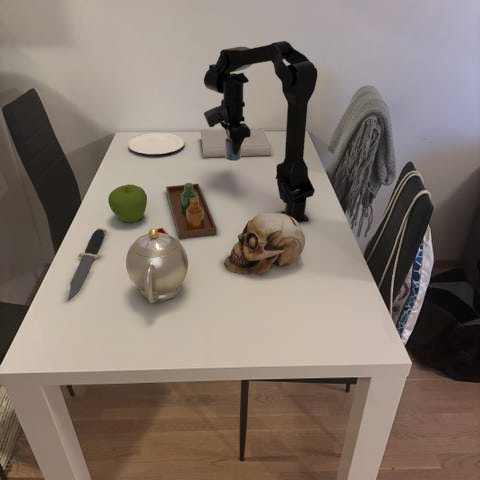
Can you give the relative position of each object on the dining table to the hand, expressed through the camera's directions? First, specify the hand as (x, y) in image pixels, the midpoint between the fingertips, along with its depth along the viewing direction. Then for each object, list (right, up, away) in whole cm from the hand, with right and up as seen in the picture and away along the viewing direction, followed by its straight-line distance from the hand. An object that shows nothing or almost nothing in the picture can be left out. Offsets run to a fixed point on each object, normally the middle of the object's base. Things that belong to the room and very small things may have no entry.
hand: (233, 151), depth 147 cm
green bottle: (-12, -21, -9) cm, 26 cm away
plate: (-29, +12, +30) cm, 44 cm away
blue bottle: (0, -2, +1) cm, 2 cm away
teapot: (-16, -47, -37) cm, 62 cm away
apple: (-29, -23, -11) cm, 39 cm away
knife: (-36, -38, -28) cm, 60 cm away
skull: (+8, -37, -26) cm, 46 cm away
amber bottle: (-10, -27, -16) cm, 33 cm away
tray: (-13, -21, -7) cm, 25 cm away
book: (0, +12, +31) cm, 33 cm away
